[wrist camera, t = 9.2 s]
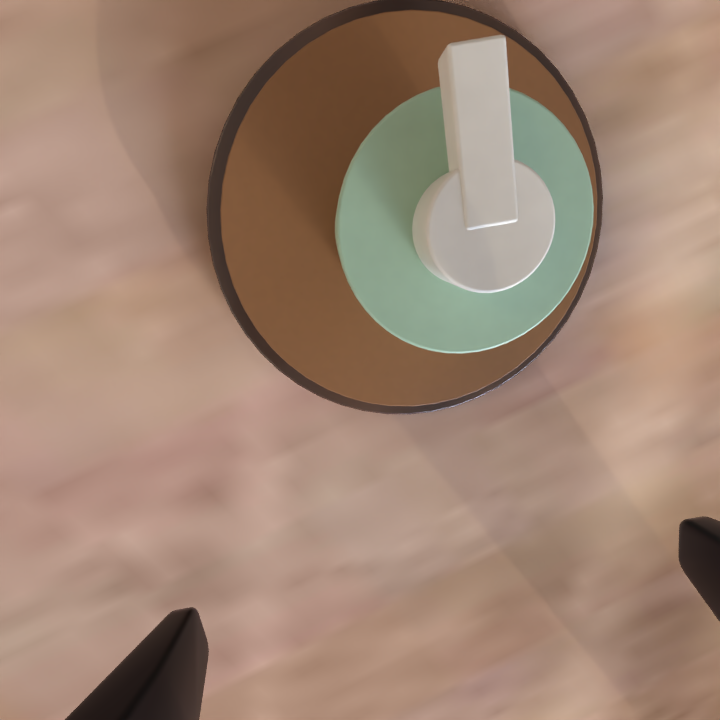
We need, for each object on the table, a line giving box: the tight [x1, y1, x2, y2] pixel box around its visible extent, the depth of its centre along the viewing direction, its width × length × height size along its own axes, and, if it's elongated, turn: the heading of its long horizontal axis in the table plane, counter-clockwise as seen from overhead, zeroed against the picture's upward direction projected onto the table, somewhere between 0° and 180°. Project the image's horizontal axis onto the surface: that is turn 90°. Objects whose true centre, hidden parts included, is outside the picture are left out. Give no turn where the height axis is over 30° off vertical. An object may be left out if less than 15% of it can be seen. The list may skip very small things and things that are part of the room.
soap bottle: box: [220, 10, 597, 406], centre depth 13 cm, size 14×14×9 cm
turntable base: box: [207, 0, 603, 414], centre depth 18 cm, size 15×15×1 cm
